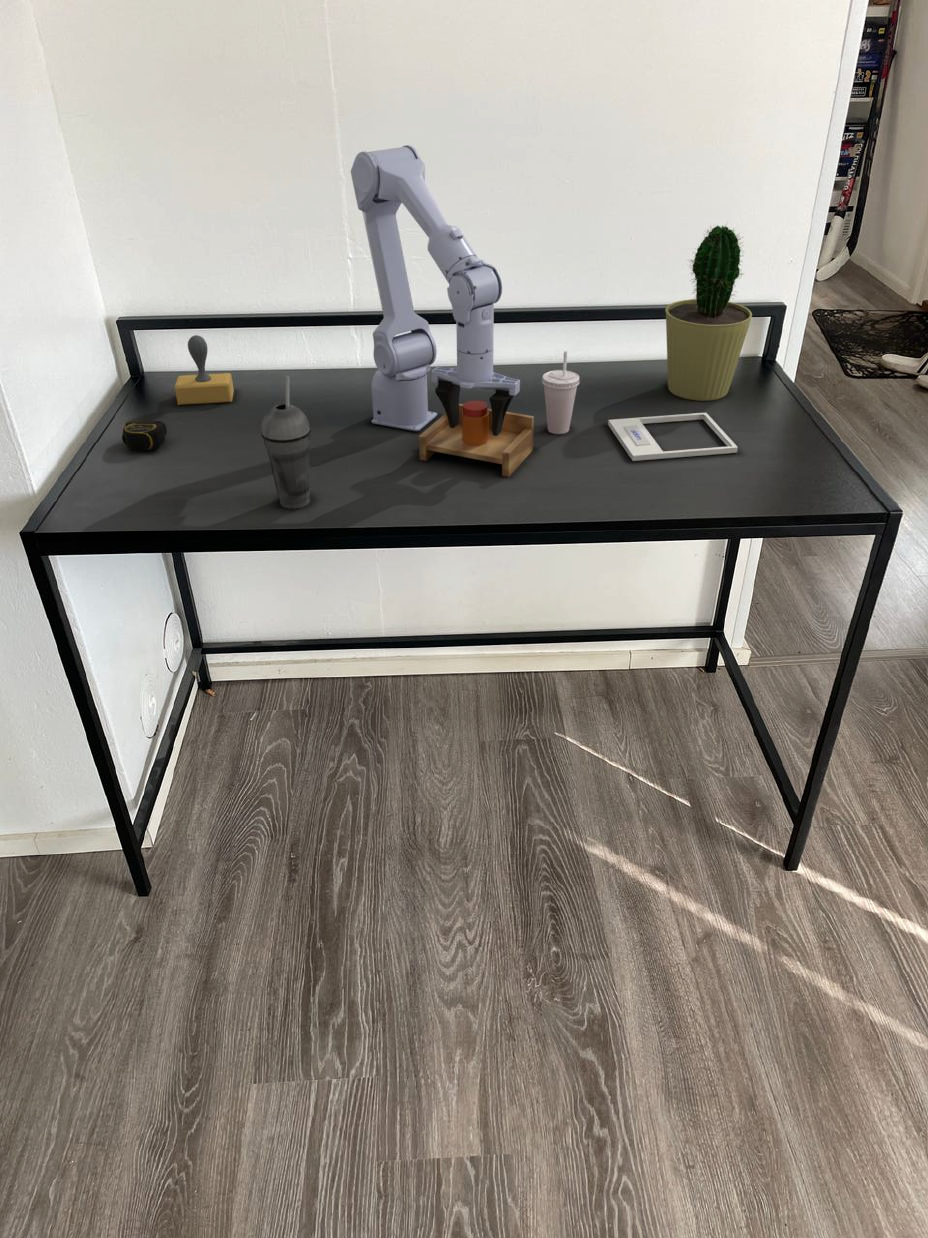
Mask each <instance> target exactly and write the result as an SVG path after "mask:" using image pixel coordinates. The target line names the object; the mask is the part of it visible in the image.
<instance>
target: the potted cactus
mask: <svg viewBox="0 0 928 1238" xmlns="http://www.w3.org/2000/svg"><path fill="white" fill-rule="evenodd" d="M728 223H729V221H727V222H726V224H725V225H721V226H720V225H716V224H714V227H712V225H711V224H709V225H710V226H708V227H709V228H708V229H707V228H706V230H704V232H705V233H704V232H702V233H703V239H701V241H702V242H700V245H698V247H697V248H696V247H694V249H695V250H696V251H694V252H693V251H692V253H693V254H694V258H693V259H692V260H688V262H689V263H691V264H692V266H691V265H688V268H689V270H690V269H691V270H690V271H691V272H690V273H689V275H691V276H693V275H694V277H692V279H690V280H689V282H692V283H693V284H694V287H693V289H692V290H691V291H692V292H691V293H690V294H691V295H695V297H693V298H689V299H682V300H677V301H675V302H672V303H669V304H668V305H667V306H666V307H665V310H664V311H665V326H666V327H665V329H666V358H667V359H666V361H667V362H666V364H667V387H668V388H667V389H668V391H669V392H670V393H672V394H673V395H675V396H677V397H679V398H682V399H685V400H692V401H714V400H719V399H722V398H724V397H726V396H727V395H728V393H729V391H730V387H731V385H732V382H733V379H734V376H735V371H736V369H737V365H738V362H739V359H740V356H741V353H742V350H743V346H744V343H745V340H746V337H747V334H748V330H749V328H750V325H751V321H752V317H753V313H752V311H751V309H749V308H747V306H743V305H741V304H739V303H736V302H732V301H730V300H734V298H733V297H734V296H736V294H735V293H738V294H739V292H738V291H736V290H735V291H734V286H735V285H736V282H737V281H738V280H739V279H741V276H743V275H744V273H743V272H741V268H740V267H739V266H741V267H743V266H742V264H741V263H742V260H741V257H743V255H741V253H744V252H745V251H744V250H743V248H742V247H744V244H743V243H744V241H743V242H742V241H741V239H743V238H744V236H741V235H740V234H741V232H740V233H735V232H736V230H735V228H732V229H730V228H729V227H728V226H727V224H728ZM709 229H710V230H709ZM740 241H741V242H740ZM741 244H742V245H741ZM733 292H734V293H733Z"/></svg>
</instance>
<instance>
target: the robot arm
mask: <svg viewBox="0 0 928 1238" xmlns="http://www.w3.org/2000/svg"><path fill="white" fill-rule="evenodd" d="M350 176H351V181H352V186H353V190H354V196H355V200H356V205H357V210H359V211H361V212H362V218H363V221H364V227H365V232H366V236H367V240H368V241H367V242H368V247H369V250H370V257H371V262H372V266H373V271H374V276H375V281H376V285H377V290H378V295H379V296H378V297H379V300H380V304H381V305H380V306H381V311H382V315H383V319H382V320H381V321H380V323H379V324H378V326H377V327H376V328H375V329H374V331H373V332H372V339H373V352H372V353H373V361H374V364H375V367H376V368H377V370H376V371H375V373H374V375H373V377H372V380H371V400H372V402H371V403H372V416H373V419H371V424H374V425H379V426H383V427H384V426H386V427H390V428H394V429H401V430H407V431H411V432H420V431H421V430H422V429H423V428H424V427H426V426H427V425H428V424H429V423H430V422H431V421H433V420H434V419H435V418H437V416H438V412H434V411H429V401H428V398H429V397H428V373H429V372H430V371H431V383H433V384H437V386H436V387H435V388H434V393H435V395H436V396H437V398H438V399H439V402H440V403H441V404H442V407H443V409H444V413H445V412H446V415H447V418H448V421H449V425H450V428H455V427H456V426H457V425H458V424H459V404H460V396H461V394H460V393H461V389H462V388H463V389H467V390H469V389H472V388H474V389H475V388H476V389H479V390H486V391H487V390H488V391H494V392H495V393H493V394H492V395H490V397H489V403H490V409H492V434H493V436H497V435H498V434H499V433H500V432H501V430H502V425H503V421H504V417H505V414H506V412H508V409H509V406H510V404H511V403H512V401H513V398H514V397H516V395H518V394H519V393H520V390H521V380H520V379H516V378H513V377H509V376H506V375H503V374H500V373H497V372H494V328H495V327H494V323H495V322H494V319H495V318H494V316H495V314H494V313H495V311H494V309H495V305H494V304H496V303H498V302H499V301H500V299H501V297H502V293H503V283H502V278H501V275H500V274H499V272H498V269H497V268H496V266H494V265H493V264H491V263H486V261H485V260H484V259H480V258H479V257H478V255H477V254H476V252H475V251H474V249H473V248H472V246H471V245H470V243H469V242H468V240H467V239H466V238H467V237H465V235H464V233H463V232H462V230H461V228H460V227H458V226H456V225H450V224H448V223H447V220H446V219H445V217H444V215H443V213H442V211H441V209H440V207H439V205H438V203H437V202H436V199H435V198H434V196H433V193H432V192H431V190H430V188H429V187H428V184H427V183H426V165H425V163H424V161H423V160H422V158H421V156H420V154H419V152H418V151H417V149H416V148H415V147H414V146H413V145H409V144H407V145H403V146H400V147H393V148H386V149H378V150H372V151H360V152H358V153H357V154H356V155H355V157H354V160H353V163H352V167H351V169H350ZM401 205H402V206H404V207H405V209H406V210H407V211H408V213H409V214H410V215H411V217H412V218H413V219H414V221H415V222H416V223H417V224H418V226H419V227H420V228H421V230H422V231H423V233H425V235H426V237H428V242H427V252H428V253H429V255H430V257H431V258H432V259H433V261H434V263H435V264H436V267H438V269H439V271H440V272H441V274H442V275H443V277H444V278H445V280H446V282H447V283H448V287H447V288H446V291H447V292H446V293H447V296H448V300H449V302H450V304H451V308H452V316H453V320H454V321H455V322H456V323H455V324H456V325H455V326H456V327H455V330H456V367H441V366H439V367H438V366H436V367H435V368H434V369H432V370H431V366H432V365H433V364H434V363H435V362H436V358H437V352H438V351H437V344H436V340H435V339H434V336H433V334H432V332H431V329H430V326H429V325H430V324H429V322H428V321H427V320H426V319H425V318H424V317H421V316H420V315H418V314H417V313H416V312H415V310H414V304H413V303H414V302H413V298H412V293H411V288H410V282H409V277H408V272H407V267H406V261H405V256H404V251H403V247H402V242H401V236H400V231H399V230H400V229H399V225H398V220H397V213H398V210H399V208H400V207H401Z"/></svg>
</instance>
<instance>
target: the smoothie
mask: <svg viewBox="0 0 928 1238" xmlns="http://www.w3.org/2000/svg"><path fill="white" fill-rule="evenodd" d="M562 359H563V361H562V369H554V370H549V371H548V372H545V373H543V375H542V379H541V383H542V385H543V389H544V391H543V392H544V402H545V412H546V413H545V414H546V424H547V431H548V432H549V433H551V434H553V435H564V434H566V433H568V432H569V431H570V427H571V422H572V416H573V411H574V405H575V399H576V395H577V390H578V389H577V388H578V386H579V385H580V375H579V374H578V373H576V372H573V371H570V370H567V364H568V351H567V350H564V351H563V358H562Z"/></svg>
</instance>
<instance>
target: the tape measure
mask: <svg viewBox="0 0 928 1238" xmlns="http://www.w3.org/2000/svg"><path fill="white" fill-rule="evenodd" d="M167 433H168V429H167V425H166V423H165V422H163V421H159V420H142V421H141V420H140V421H128V422H125V424H124V427H123V429H122V434H121V441H122V443H123V444H124V445H126V447H127V448H128V449H130V450H134V451H152V450H153V449H156V448H158V447H161V446H163V444H164V443H165V442H166V435H167Z"/></svg>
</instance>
